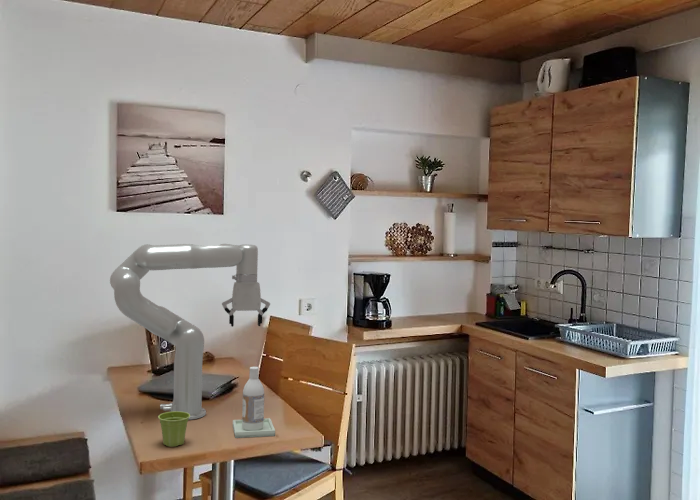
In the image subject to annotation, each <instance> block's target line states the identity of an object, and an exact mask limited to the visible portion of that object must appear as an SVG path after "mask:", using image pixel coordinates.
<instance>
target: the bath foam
mask: <svg viewBox="0 0 700 500" xmlns="http://www.w3.org/2000/svg"><path fill="white" fill-rule="evenodd" d="M259 369H260V368H259V366H250V367H249V377H248V378H249V379H248V380H247V382H246V383H245V384H244V386H243V390H242V409H241V410H242V412H241V413H242V414H241V415H242V417H241V420H242V428H243V429H245V430H248V431H256V430H260V429H262V428H263V424H264V419H265V389H264V385H263V383H262V382H261V380H260V379H259Z"/></svg>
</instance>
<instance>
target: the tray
mask: <svg viewBox="0 0 700 500" xmlns="http://www.w3.org/2000/svg"><path fill="white" fill-rule="evenodd" d="M232 430H233V434H234V438H235V439H245V438H262V437H276V428H275V427H274V424H273V421H272V419H271V418H270V417H268V418H265V417H264V424H263V428H262V429H260V430H256V431H248V430H245V429H243V428H242V419H232Z"/></svg>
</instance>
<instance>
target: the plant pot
mask: <svg viewBox="0 0 700 500" xmlns="http://www.w3.org/2000/svg"><path fill="white" fill-rule="evenodd" d="M189 417H190V414H189V413H186V412H180V411H173V412H169V411H165V412H163V413H160V414H159V415H158V416H157V418H158V420H159V423H160V428H161V435H162V444H163V445H164V446H166V447H172V448H174V447H177V446H179V445H180V446H181V445H182V446H183V445H184V443H185V438H186V433H187V427H188V422H189V420H188V419H189Z"/></svg>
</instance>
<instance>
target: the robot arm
mask: <svg viewBox="0 0 700 500" xmlns="http://www.w3.org/2000/svg"><path fill="white" fill-rule="evenodd" d="M258 255H259V251H258V246H257V245H255V244H230V243H220V244H218V245H198V244H190V243H183V244H182V243H180V244H179V243H178V244H160V245H159V244H158V245H157V244H155V245H154V244H143V245H141V246H139V247H138V248H137V249H135V250H134V251H133V253H131V254H130V256H128V257H127V258H126V259H125V260H124V261H122V262H121V264H120V265H119V266H118V267H116V268H115V269H114V270H113V271H112V273H111V275H110V277H109V284H110V286H111V288H112V289H113V296H114V297H113V298H114V303H115V305H116V306H117V309H118V310H119V311H120V312H121V313H122V314H123V315H124V316H125V317H126V318H128V319H130V320H131V321H133V322H135V323H136V324H138V325H139V326H141V327H143V328H144V329H146V330H147V331H149V332H150V333H152V334H153V335H155V336H157V337H160V338H162V339H163V340H165V341H166V342H169V343H170V344H172V345H173V346H175V353H174V360H173V400H172V402H169V403H160V404H159V407H160V408H159V409H160V410H163V412H164V411H165V412H173V411H180V412H186V413H189V414H190V417H189V419H188V421H189V420H197V419H200V418H203V417H205V416H206V414H207V411H206V408H204V407H202V404H203V403H202V400H203V397H202V396H203V394H202V393H203V356H204V355H203V354H204V348H205V336H204V334H203V332H202V331H201V329H200V328H199V327H197V326H196V325H195V324H193V323H191V322H189V321H187V320H185V319H184V318H183V317H181V316H179V315H178V314H176V313H174V312H173V311H171V310H169V309H168V308H166V307H165V306H162V305H161V306H160V305H158V304H156V303H155V302H153V301H151V300H150V299H148V298H147V297H145V296H144V295H143V294H142V292H141V280H142V279H143V278H144V276H146V275H147V274H148V273H149V271H166V270H167V271H169V270H186V269H187V270H188V269H189V270H190V269H192V270H193V269H207V268H209V269H210V268H212V269H213V268H214V269H215V268H231V267H235V268H236V269H235V270H236V274H234V275H231V279H232V280H235V282H233V288H232V294H231V295H232V296H231V298H229V299H227V300H225V301H222V302H221V305H222V307H223V310H224V311H225V312H226V313H227V314H228V315H229V318H228V319H229V321H228V322H229V324H228V325H230V327H234V325H235V324H234V321H235V319H234V317H235V316H234V314H235V312H236V311H237V312H238V311H242V312H247V311H248V312H249V311H251V312H252V311H257V312H258V314H257V326H258V327H261V324H263V315H264V314H265V313H266V312H267V311H268V309H269V308H270V306H271V303H270V302H269V301H267V300H266V299H264V298H262V296H261V293H262V292H261V285H260V282H259V281H258V260H259V259H258V257H259V256H258ZM229 304H231V309H229V308H228V305H229ZM262 304H264V307H263V308H262V309H261V305H262Z"/></svg>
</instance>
